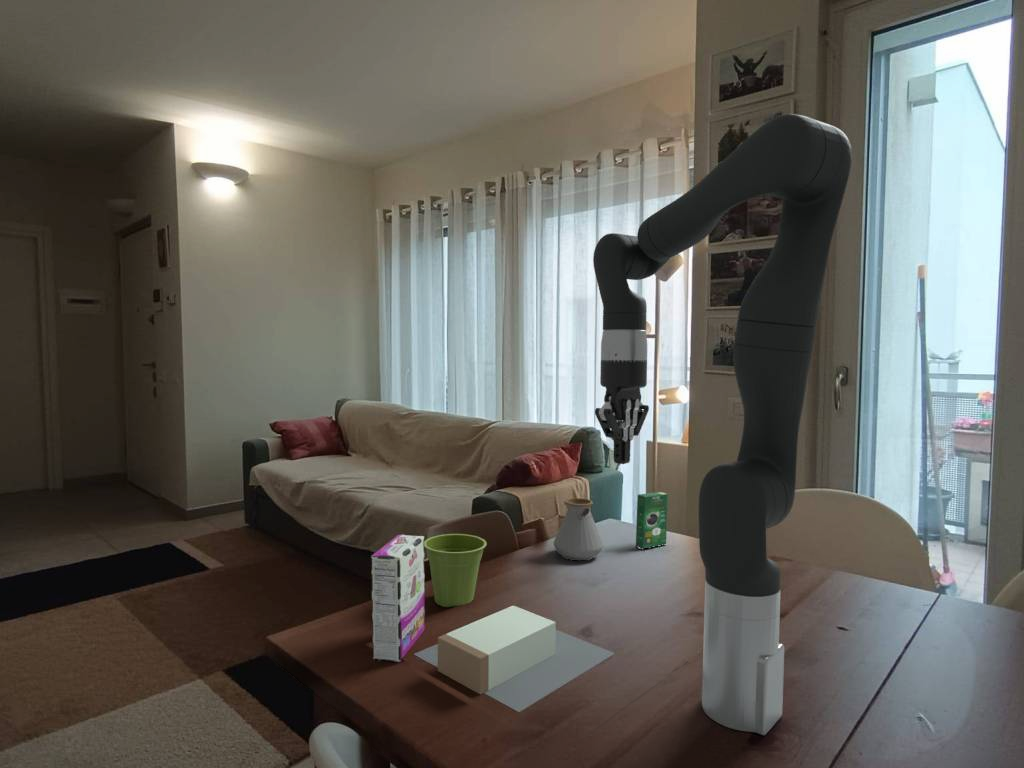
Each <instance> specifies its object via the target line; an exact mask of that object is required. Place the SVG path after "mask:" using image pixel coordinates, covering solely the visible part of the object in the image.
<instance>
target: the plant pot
mask: <svg viewBox="0 0 1024 768" xmlns="http://www.w3.org/2000/svg"><path fill="white" fill-rule="evenodd" d="M486 546H487V541H486V540H485V539H484V538H481V537H479V536H478V535H471V534H465V533H447V534H439V535H435V536H431V537H428V538H426V539H424V549H426V553H427V554H426V555H427V559H428V561H429V567H430V568H429V569H430V576H431V583H432V588H433V589H432V591H433V598H434V602H435V603H436V604H437V605H438V606H441V607H443V608H450V607H459V606H464V605H467V604H469V603H471V602H472V601H473V600H474V596H475V591H476V586H477V582H478V576H479V575H478V573H479V568H480V565H481V564H480V563H481V560H482V559H483V557H482V556H483V553H484V550H485V548H486Z"/></svg>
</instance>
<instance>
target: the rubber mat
mask: <svg viewBox="0 0 1024 768" xmlns="http://www.w3.org/2000/svg"><path fill="white" fill-rule="evenodd" d="M615 654H616V653H615V652H613V651H611V650H608V649H605V648H604V647H600V646H598V645H595V644H593V643H592V642H588V641H585V640H583V639H580V638H578V637H575V636H573V635H570V634H568V633H565V632H563V631H561V630H558V629H556V645H555V654H554V655H552V656H551V657H549V658H547V659H545V660H543V661H541V662H540V663H538V664H536V665H534V666H532V667H530V668H529V669H527V670H525V671H523V672H521V673H519V674H518V675H516V676H514V677H512V678H510V679H508V680H507V681H505V682H503V683H501V684H499V685H497V686H496V687H494V688H492V689H490V690H488V691H486V692H485V693H483V694H485V695H486V696H488V697H490V698H491V699H493V700H495V701H497V702H499V703H501V704H503V705H505V706H507V707H508V708H510V709H511V710H514V711H516V712H518V713H520V712H522V711H524V710H525V709H527V708H529V707H530V706H532V705H534V704H535V703H537V702H538V701H540V700H542V699H544V698H545V697H546V696H548V695H551V694H552V693H554V692H555V691H557V690H559V688H562V687H563V686H565V685H566V684H569V683H570V682H571V681H573V680H575V679H576V678H578V677H579V676H581V675H582V674H584V673H586V672H587V671H589V670H591V669H592V668H594V667H596V666H597V665H598V664H600V663H603V662H604V661H605V660H607V659H609V658H611V657H612V656H613V655H615ZM413 656H415V657H417V658H419V659H421V660H422V661H424V662H427V663H428V664H430V665H431V666H433V667H436V668H437V669H438V643H436V644H433V645H432V646H430V647H427V648H424V649H422V650H420V651H418V652H415V653H413Z"/></svg>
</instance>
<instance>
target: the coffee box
mask: <svg viewBox="0 0 1024 768" xmlns="http://www.w3.org/2000/svg"><path fill="white" fill-rule="evenodd" d="M668 496H669V495H668V493H666V492H662V491H656V492H650V493H649V492H648V493H641V494H639V493H638V494H637V499H636V501H637V502H636V528H635V529H636V533H635V547H636V546H638V547H640V548H643V549H642V550H645V549H644V548H649V547H653V546H658V545H662V544H666V545H667V530H668V529H667V524H668V523H667V522H668ZM658 547H659V546H658ZM653 548H654V547H653ZM649 549H650V548H649Z"/></svg>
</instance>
